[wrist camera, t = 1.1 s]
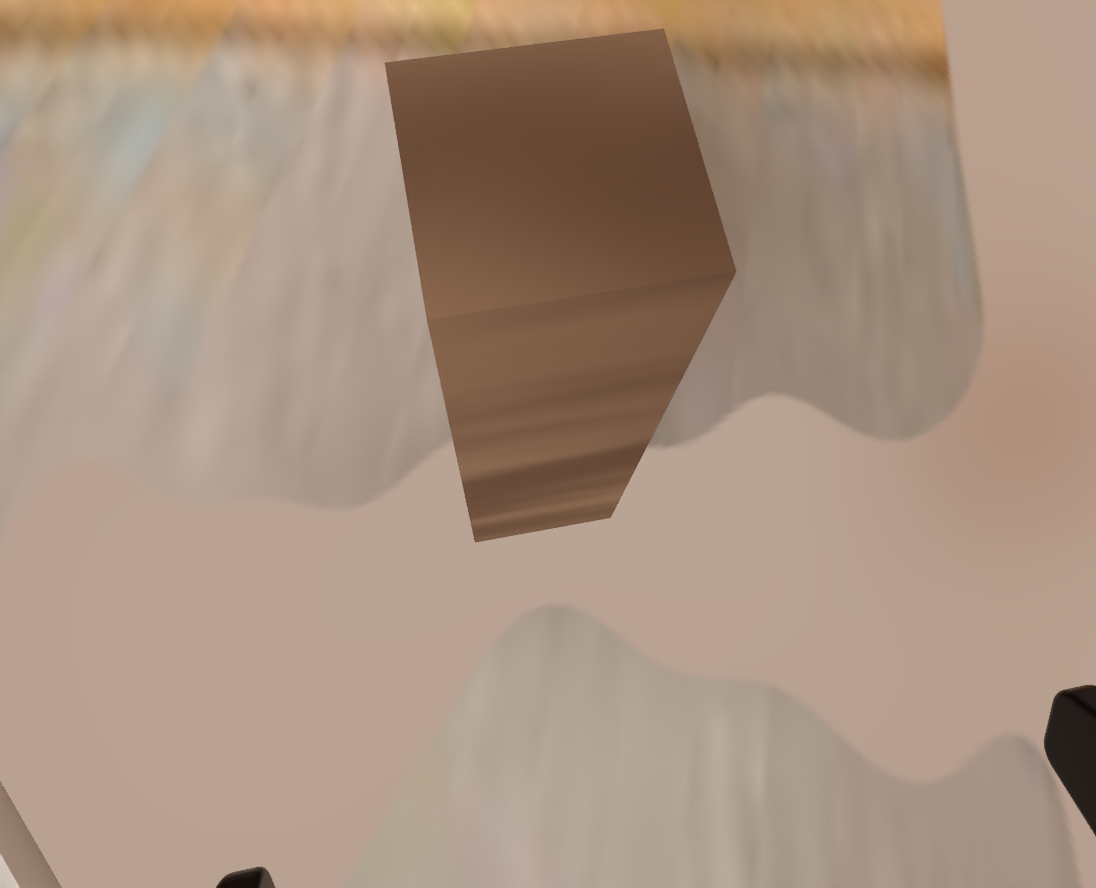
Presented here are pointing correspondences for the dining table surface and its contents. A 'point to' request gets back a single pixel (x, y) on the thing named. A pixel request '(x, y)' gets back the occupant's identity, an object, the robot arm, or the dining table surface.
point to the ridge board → (20, 852)
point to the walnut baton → (557, 263)
